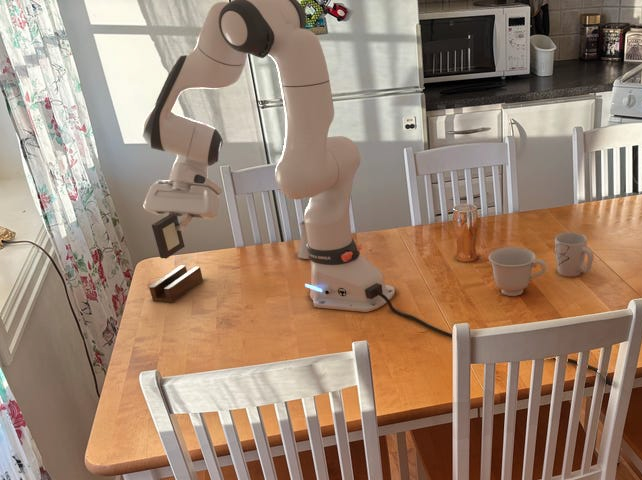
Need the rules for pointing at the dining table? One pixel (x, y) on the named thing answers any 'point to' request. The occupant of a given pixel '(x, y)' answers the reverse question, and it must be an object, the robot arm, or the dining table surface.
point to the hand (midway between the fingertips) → (174, 230)
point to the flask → (303, 242)
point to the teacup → (514, 269)
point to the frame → (167, 236)
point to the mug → (572, 254)
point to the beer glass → (465, 231)
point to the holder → (175, 284)
